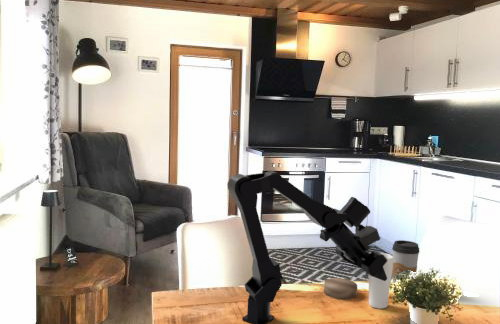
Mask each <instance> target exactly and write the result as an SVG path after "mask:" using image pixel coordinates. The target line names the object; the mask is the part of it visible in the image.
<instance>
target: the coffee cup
mask: <svg viewBox="0 0 500 324" xmlns="http://www.w3.org/2000/svg"><path fill="white" fill-rule="evenodd" d="M391 250H392V256H393V271H392V284H393V283H395V282H396V279H395V276H396V274H399V273H401V272H403V271H405V270H411V271H413V272H416V273H417V270H418V260H419V254H420V247H419V244H418V243H417V242H415V241H410V240H403V239H402V240H401V239H400V240H395V241H394V242H393V244H392V247H391Z"/></svg>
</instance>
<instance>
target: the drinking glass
mask: <svg viewBox="0 0 500 324" xmlns="http://www.w3.org/2000/svg"><path fill="white" fill-rule="evenodd" d="M380 253H381V254H383V255H384V256H385V257H386V258H387V262H386V263H385V265H384V266H383V268H384V271H385V274H386V276H387V280H386V281H383V280H381V279H378V278H376V277H373V276H370V275H369V274H367V275H368V304H369V306H370V307H372V308H374V309H378V310H379V309H380V310H381V309H382V310H383V309H387V307H388V304H389V295H390V289H391V288H390V289H389V286H390V287H391V284H392V283H391V282H392V279H393V254H389V253H386V252H380Z"/></svg>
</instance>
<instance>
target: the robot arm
mask: <svg viewBox="0 0 500 324" xmlns="http://www.w3.org/2000/svg"><path fill="white" fill-rule="evenodd" d="M227 189H228V192H229V193H230V195H231V198H232V200H233V202H234V203H235V206H236V207H237V208H238V211H239V213H240V217H241V221H242V224H243V227H244V231H245V234H246V238H247V242H248V246H249V249H250V252H251V257H252V265H251V271H252V276H251V277H250V278H249V280H247V281H246V282H245V284H244V285H243V286H244V289H245V292H246V293H248V298H247V312H246V313H247V314H246V315H244V316H242V321H246V322H248V323H251V324H268V323H270V322H272V320H274V319H276V318H275V315H273V314H271V303H273V302H274V300H275V298H276V296H277V293H278V291H279V290H280V289H281V287H282V283H283V282H282V281H283V279H284V276H283V275H282V273H281V272H282V271H281V265H280V263H278V261H276V260H274V258H272V257H270V254H269V251H268V246H267V243H266V239H265V236H264V232H263V227H262V225H261V220H260V217H259V216H260V215H259V214H258V210H257V204H258V194H262V193H265V192H266V191H267V192H268V191H269V190H274V191H275V192H277V193H279V195H281V196H283V197H284V198H285V199H287V200H288V201H289V202H291V203H293V204H294V205H295V206H297V207H298V208H300V210H301V211H303V213H304V215H306V217H308V219H309V220H310V221H311V222H313V223H314V224H316V225H317V226H319V227H322V228H324V229H320V234H319V239H320V240H322V241H324V242H328V241H329V240H331V241H332V242H333V243H334V244H335V255H337V256H338V258H340V259H342V260H343V261H345V262H347V263H349V264H352V265H354V266H356V267H358V268H360V269H362V270H363V271H364V272H365V273H366V274H367V275H368V274H369V275H370V276H373V277H376V278H378V279H381V280H383V281H386V280H387V276H386V274H385V271H384V268H383V266H384V265H385V263H386V262H387V258H386V257H385V256H384V255H383V254H381V253H382V252H380V251H379V252H378V251H377V250H376V251H371V252H370V253H369V252H368V251H369V250H370V249H371V247H370V246H371V245H372V244H374V243H376V242H378V241H380V240H381V236H380V233H379V231H378V228H376V227H374V226H371V225H363V224H362V223H363V221H365V219H366V218H367V217H368V216H369V215H370V214H371V210H370V208H369V207H368V206H366V204H364V203H362V202H361V201H360V200H359V199H357V198H356V197H355V196H351V197H350V198H349V199H348V200H347V202H346V203H345V205H343V207H342V208H341V209H337V208H333V207H331V206H329V205H327V204H324V203H322V202H320V201H317V200H316V199H313V198H312V197H310V196H309V195H307V194H306V193H304V192H303V191H302V190H300V189H299V188H297V187H296V186H295V185H294V184H292V183H291V182H289V181H288V180H287V179H285V178H284V177H282V175H281V174H280V173H278V172H276V171H271V170H269V171H267V172H261V173H253V174H252V173H251V174H247V175H244V174H241V173H236V174H234V175H231V177H229V179H228V181H227ZM353 227H355V228H354V229H355V230H354V231H355V233H354V232H353V231H352V230H351V229H352V228H353ZM350 228H351V229H350ZM369 275H368V276H369Z"/></svg>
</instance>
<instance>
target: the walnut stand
mask: <svg viewBox="0 0 500 324" xmlns="http://www.w3.org/2000/svg"><path fill="white" fill-rule="evenodd" d="M323 285H324V286H323V294H325V295H326V297H327V296H328V297H329V298H332V299H336V300H345V301H346V300H352V299H354V298H356V297H357V294H358V284H357V283H356V281H355V282H354V281H352V280H350V279H347V278H342V277H341V278H340V277H333V278H332V277H331V278H327V279H326V280H324V283H323Z"/></svg>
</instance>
